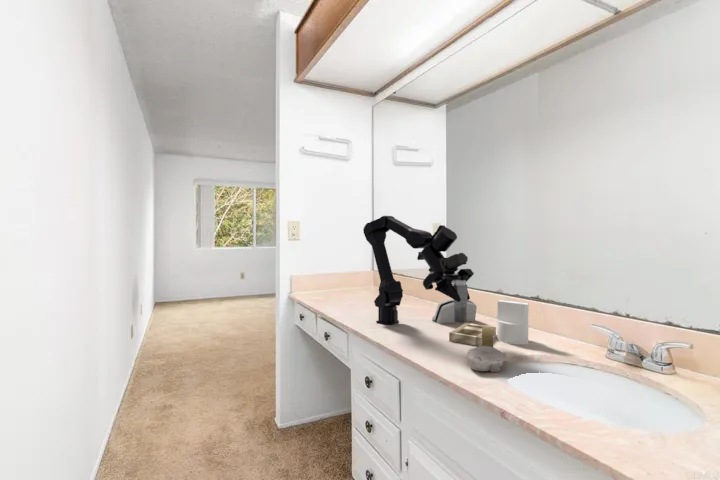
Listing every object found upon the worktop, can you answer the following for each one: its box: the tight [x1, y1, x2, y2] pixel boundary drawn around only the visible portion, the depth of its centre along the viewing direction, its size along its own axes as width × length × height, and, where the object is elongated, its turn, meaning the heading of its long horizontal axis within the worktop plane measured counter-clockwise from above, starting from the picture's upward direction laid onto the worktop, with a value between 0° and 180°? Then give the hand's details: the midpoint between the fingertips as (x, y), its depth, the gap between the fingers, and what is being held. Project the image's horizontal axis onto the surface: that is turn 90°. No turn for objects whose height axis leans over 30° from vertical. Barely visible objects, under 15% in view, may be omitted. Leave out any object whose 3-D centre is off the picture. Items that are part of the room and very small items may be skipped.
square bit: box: [482, 325, 494, 348], centre depth 102 cm, size 3×3×7 cm
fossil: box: [466, 346, 510, 373], centre depth 90 cm, size 9×6×10 cm
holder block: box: [448, 322, 497, 347], centre depth 117 cm, size 10×16×2 cm, turn 145°
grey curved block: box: [431, 298, 477, 325], centre depth 139 cm, size 17×5×10 cm, turn 109°
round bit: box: [453, 280, 469, 324], centre depth 110 cm, size 4×4×12 cm
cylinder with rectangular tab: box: [496, 299, 530, 345], centre depth 114 cm, size 9×9×12 cm
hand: (464, 300), depth 109 cm, fingers closed on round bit, 4 cm apart
